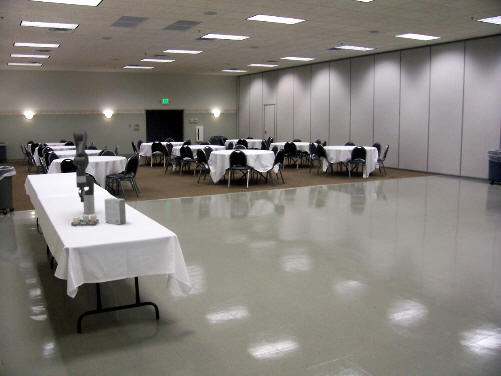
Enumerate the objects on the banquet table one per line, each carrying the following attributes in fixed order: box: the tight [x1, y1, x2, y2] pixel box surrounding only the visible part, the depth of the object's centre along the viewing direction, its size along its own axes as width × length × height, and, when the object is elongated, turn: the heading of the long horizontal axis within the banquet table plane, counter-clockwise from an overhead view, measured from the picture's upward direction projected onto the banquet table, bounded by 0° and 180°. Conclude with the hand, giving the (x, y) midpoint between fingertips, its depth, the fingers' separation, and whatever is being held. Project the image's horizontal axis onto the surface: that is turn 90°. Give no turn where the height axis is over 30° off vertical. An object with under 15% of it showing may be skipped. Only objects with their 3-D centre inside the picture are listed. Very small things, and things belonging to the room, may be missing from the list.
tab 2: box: [82, 214, 90, 222], centre depth 400 cm, size 4×4×5 cm
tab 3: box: [89, 214, 98, 222], centre depth 401 cm, size 4×4×5 cm
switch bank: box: [70, 218, 100, 227], centre depth 398 cm, size 12×19×3 cm, turn 96°
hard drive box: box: [104, 197, 127, 226], centre depth 401 cm, size 16×8×20 cm, turn 65°
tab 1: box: [72, 216, 81, 222], centre depth 393 cm, size 4×4×5 cm
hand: (82, 202), depth 403 cm, fingers closed
